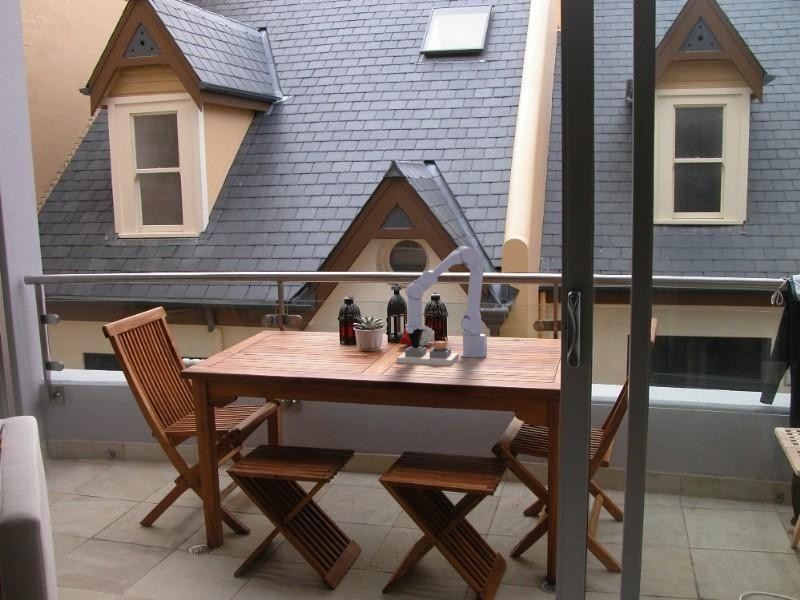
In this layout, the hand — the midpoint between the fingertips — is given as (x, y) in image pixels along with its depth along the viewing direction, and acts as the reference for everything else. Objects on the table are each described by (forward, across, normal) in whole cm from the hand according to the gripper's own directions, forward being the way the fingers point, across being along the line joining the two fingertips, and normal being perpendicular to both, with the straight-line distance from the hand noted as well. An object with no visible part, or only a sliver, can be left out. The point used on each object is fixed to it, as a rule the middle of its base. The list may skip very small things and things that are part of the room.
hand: (415, 347), depth 316 cm
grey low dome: (+2, 0, 0) cm, 2 cm away
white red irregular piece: (+5, -24, -8) cm, 26 cm away
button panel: (+5, 0, +5) cm, 7 cm away
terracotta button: (0, 0, +10) cm, 10 cm away
